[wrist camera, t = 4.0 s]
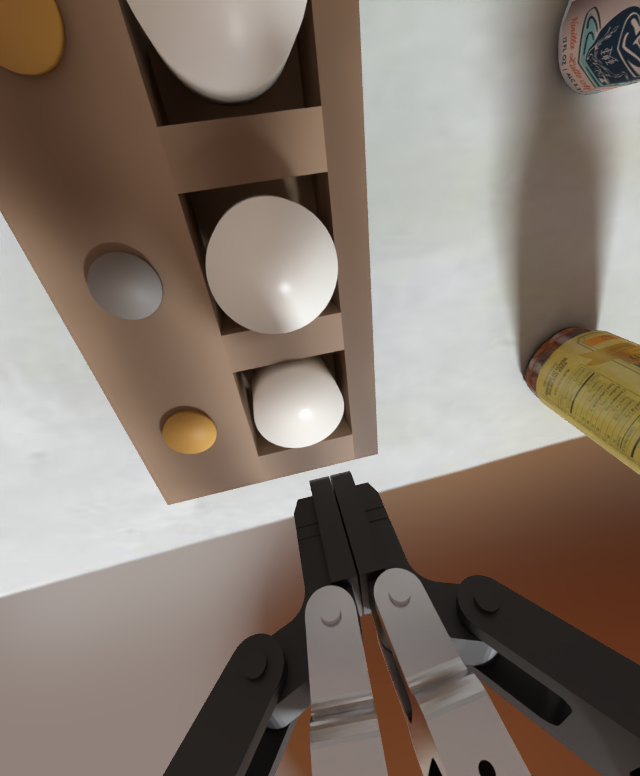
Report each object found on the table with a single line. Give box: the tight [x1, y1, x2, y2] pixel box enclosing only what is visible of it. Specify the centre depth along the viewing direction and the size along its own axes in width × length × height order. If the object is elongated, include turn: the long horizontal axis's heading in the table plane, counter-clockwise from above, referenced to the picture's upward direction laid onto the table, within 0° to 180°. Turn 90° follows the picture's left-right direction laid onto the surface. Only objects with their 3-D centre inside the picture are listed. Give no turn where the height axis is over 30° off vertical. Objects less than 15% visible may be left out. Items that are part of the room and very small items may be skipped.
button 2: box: [206, 194, 338, 334], centre depth 13 cm, size 4×4×3 cm
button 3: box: [252, 355, 344, 448], centre depth 18 cm, size 4×4×3 cm
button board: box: [0, 0, 378, 505], centre depth 15 cm, size 12×23×5 cm, turn 7°
